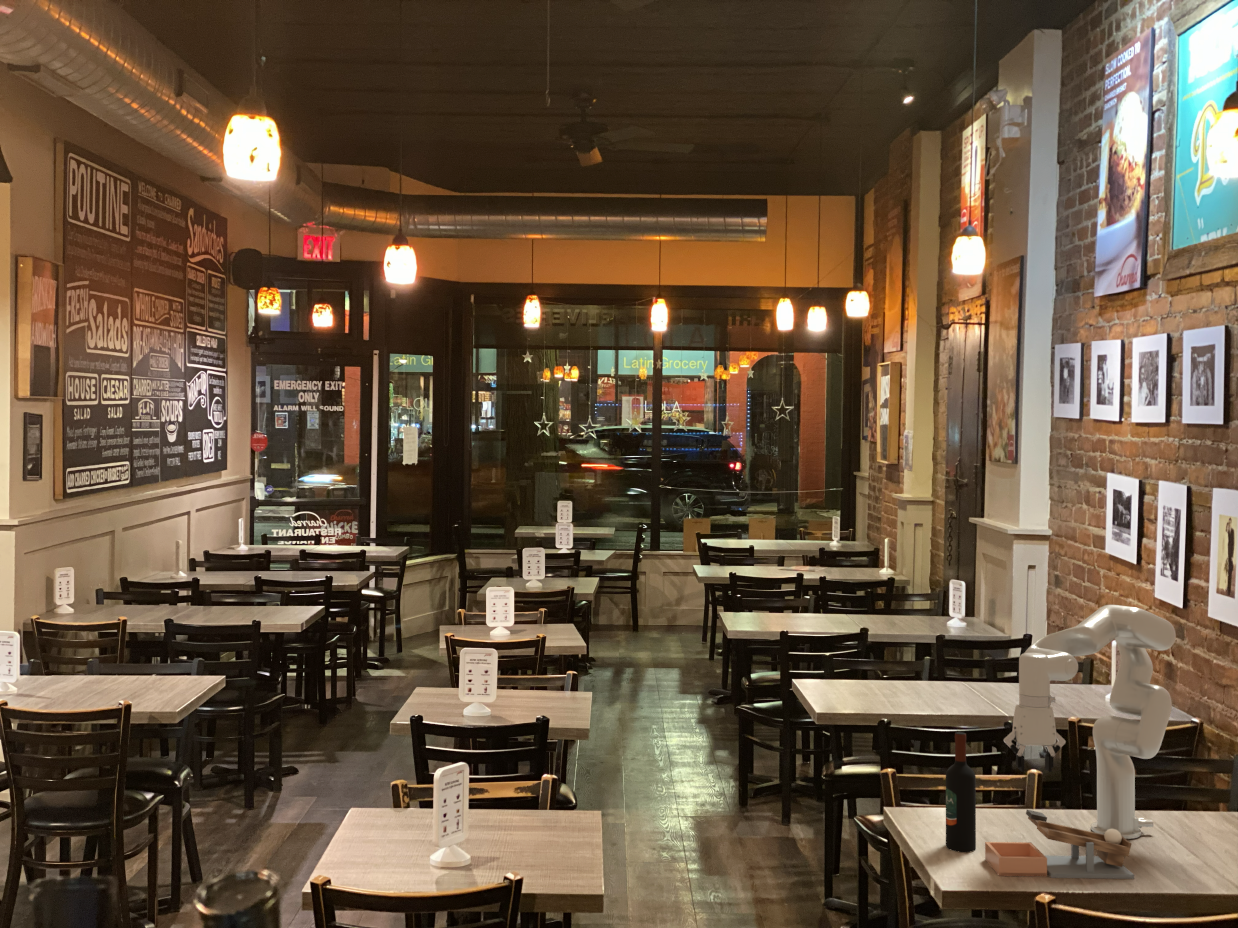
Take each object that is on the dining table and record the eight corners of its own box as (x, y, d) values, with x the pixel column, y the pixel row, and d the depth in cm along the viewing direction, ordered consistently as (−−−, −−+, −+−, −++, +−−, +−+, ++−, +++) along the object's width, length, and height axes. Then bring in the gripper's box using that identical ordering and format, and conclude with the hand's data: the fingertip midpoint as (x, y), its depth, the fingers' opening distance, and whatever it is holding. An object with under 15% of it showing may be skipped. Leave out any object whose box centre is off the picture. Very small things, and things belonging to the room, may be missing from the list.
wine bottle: (971, 853, 289) (971, 737, 289) (942, 848, 293) (942, 734, 293) (979, 845, 295) (978, 732, 295) (950, 840, 299) (950, 728, 299)
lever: (1098, 845, 291) (1103, 821, 291) (1125, 868, 274) (1131, 843, 274) (1022, 828, 291) (1027, 804, 291) (1045, 850, 274) (1050, 825, 274)
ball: (1117, 842, 280) (1118, 827, 280) (1123, 848, 276) (1125, 832, 276) (1101, 841, 280) (1102, 825, 280) (1107, 846, 276) (1108, 830, 276)
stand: (1112, 859, 284) (1112, 828, 284) (1134, 878, 271) (1134, 845, 271) (1033, 858, 285) (1032, 827, 285) (1051, 877, 272) (1050, 844, 272)
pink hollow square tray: (1031, 859, 284) (1031, 842, 284) (1047, 876, 273) (1047, 857, 273) (985, 859, 285) (985, 841, 285) (999, 875, 273) (999, 857, 273)
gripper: (1062, 698, 293) (1063, 766, 293) (996, 697, 294) (996, 766, 294) (1073, 704, 286) (1073, 774, 285) (1005, 703, 286) (1005, 773, 286)
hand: (1034, 769), depth 290 cm, fingers open, 6 cm apart
